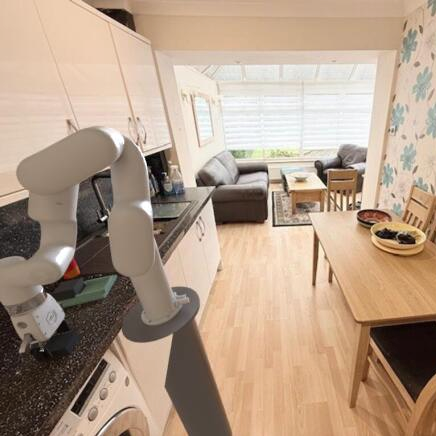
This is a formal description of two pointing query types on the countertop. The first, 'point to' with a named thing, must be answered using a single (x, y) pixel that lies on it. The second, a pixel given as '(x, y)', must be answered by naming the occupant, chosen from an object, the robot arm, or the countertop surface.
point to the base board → (83, 290)
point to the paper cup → (71, 270)
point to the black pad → (62, 344)
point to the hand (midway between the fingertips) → (55, 344)
